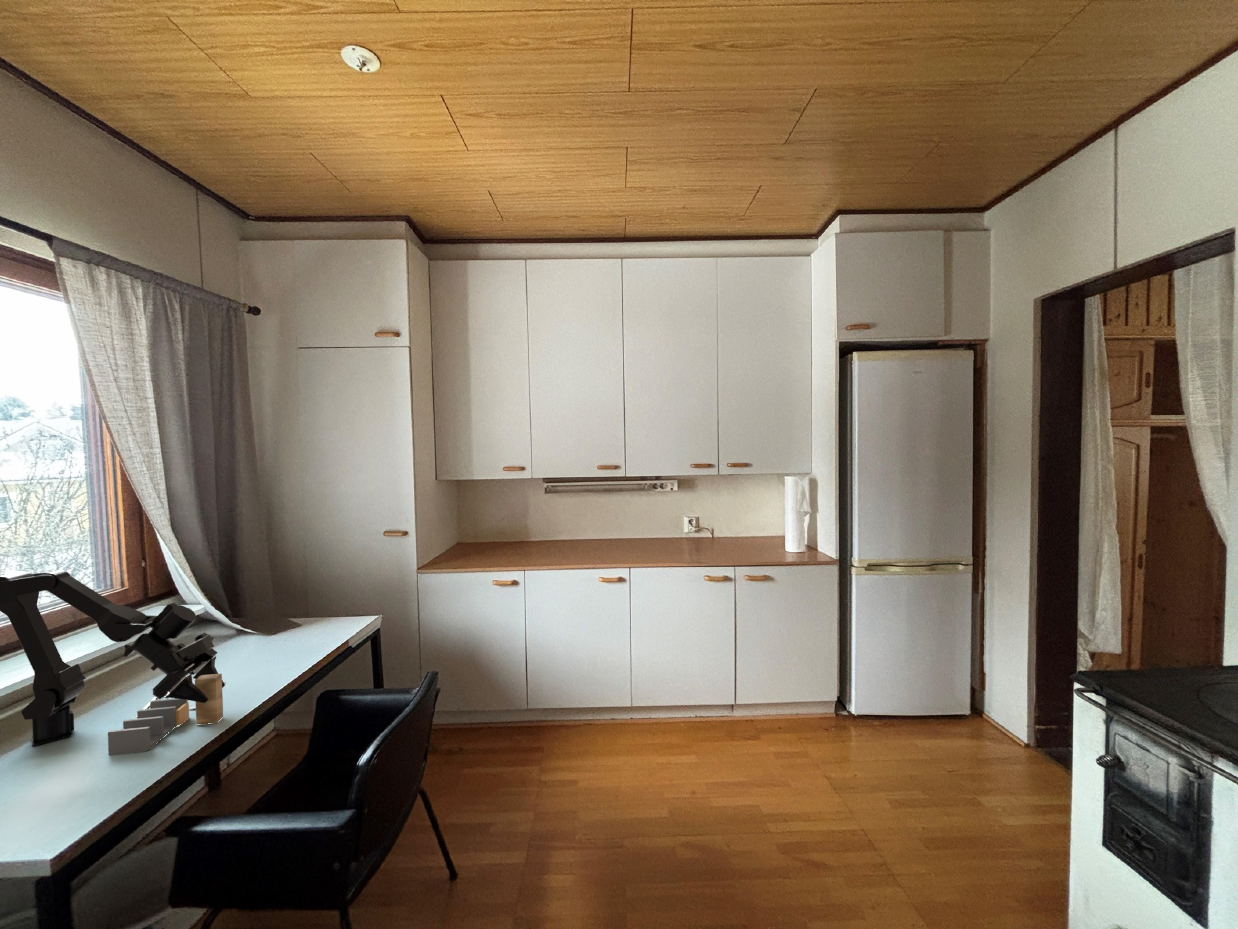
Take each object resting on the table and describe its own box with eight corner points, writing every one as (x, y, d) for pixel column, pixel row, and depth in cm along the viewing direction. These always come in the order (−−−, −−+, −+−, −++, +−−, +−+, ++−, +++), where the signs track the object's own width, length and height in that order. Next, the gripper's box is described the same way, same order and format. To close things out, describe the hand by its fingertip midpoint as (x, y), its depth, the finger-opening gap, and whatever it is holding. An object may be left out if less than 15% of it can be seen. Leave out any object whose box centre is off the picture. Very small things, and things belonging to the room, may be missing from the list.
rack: (108, 755, 125) (107, 732, 125) (152, 720, 142) (152, 700, 141) (152, 750, 127) (151, 728, 127) (190, 717, 143) (190, 697, 143)
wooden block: (196, 725, 139) (194, 680, 138) (202, 720, 142) (201, 675, 141) (217, 723, 140) (215, 678, 139) (223, 718, 142) (221, 673, 142)
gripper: (166, 639, 130) (223, 683, 133) (207, 616, 148) (256, 655, 151) (127, 677, 129) (185, 721, 131) (173, 649, 147) (223, 688, 149)
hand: (215, 693), depth 141 cm, fingers open, 8 cm apart
